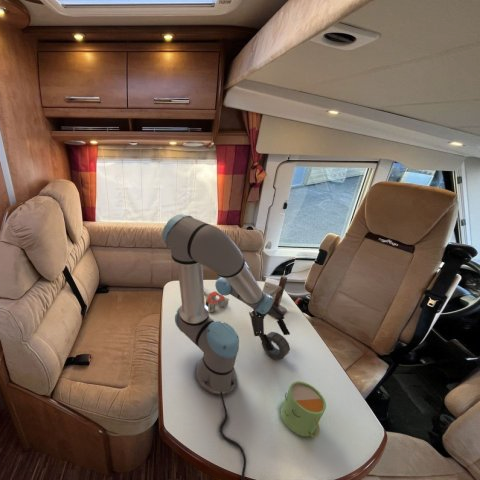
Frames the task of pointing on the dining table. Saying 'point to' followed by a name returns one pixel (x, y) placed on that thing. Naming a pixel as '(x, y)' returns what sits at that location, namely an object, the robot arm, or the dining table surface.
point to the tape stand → (279, 294)
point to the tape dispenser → (211, 296)
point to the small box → (270, 286)
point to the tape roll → (280, 342)
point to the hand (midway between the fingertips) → (279, 342)
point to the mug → (303, 409)
